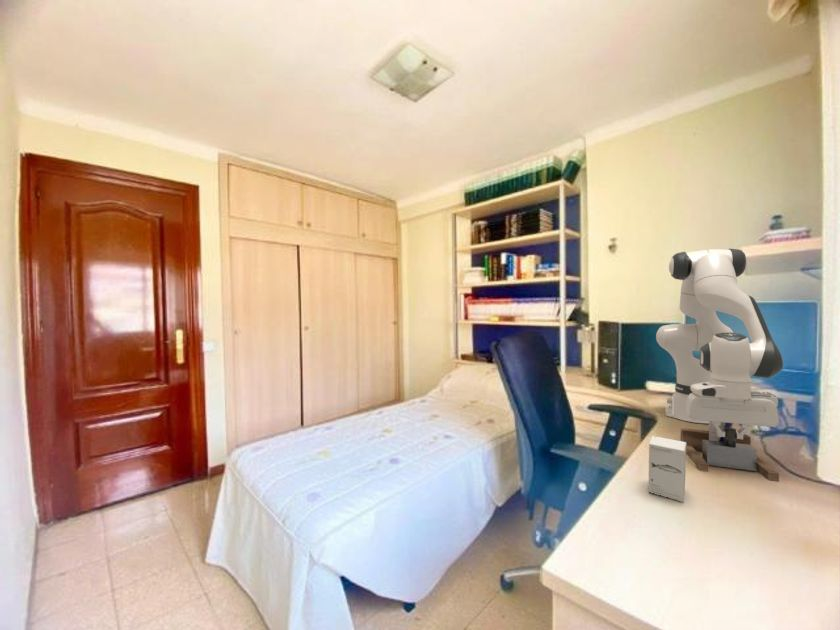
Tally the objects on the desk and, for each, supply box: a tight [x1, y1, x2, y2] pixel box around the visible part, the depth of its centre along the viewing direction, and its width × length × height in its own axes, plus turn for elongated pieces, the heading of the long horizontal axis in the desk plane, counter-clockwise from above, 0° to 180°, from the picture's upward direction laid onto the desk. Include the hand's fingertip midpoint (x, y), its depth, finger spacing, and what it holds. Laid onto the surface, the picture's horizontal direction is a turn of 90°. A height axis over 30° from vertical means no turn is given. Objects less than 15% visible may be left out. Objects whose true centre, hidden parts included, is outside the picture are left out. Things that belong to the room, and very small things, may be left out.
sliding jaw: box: [701, 427, 757, 472], centre depth 101 cm, size 4×11×11 cm, turn 67°
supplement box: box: [647, 435, 687, 503], centre depth 88 cm, size 7×7×13 cm
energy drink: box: [708, 421, 733, 442], centre depth 107 cm, size 5×5×12 cm
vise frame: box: [680, 427, 780, 482], centre depth 104 cm, size 18×17×6 cm
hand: (729, 437), depth 101 cm, fingers closed on sliding jaw, 3 cm apart
